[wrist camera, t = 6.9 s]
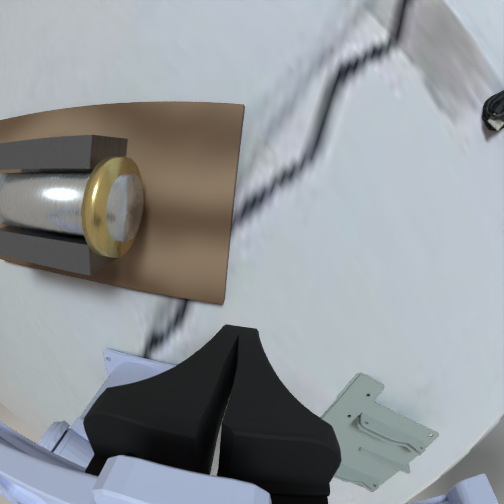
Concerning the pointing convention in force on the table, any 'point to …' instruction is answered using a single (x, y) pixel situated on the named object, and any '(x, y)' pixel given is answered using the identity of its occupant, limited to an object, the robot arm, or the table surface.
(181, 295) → the base board
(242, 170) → the table surface
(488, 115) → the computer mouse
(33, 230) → the bearing block
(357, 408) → the metal bracket
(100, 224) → the shaft
